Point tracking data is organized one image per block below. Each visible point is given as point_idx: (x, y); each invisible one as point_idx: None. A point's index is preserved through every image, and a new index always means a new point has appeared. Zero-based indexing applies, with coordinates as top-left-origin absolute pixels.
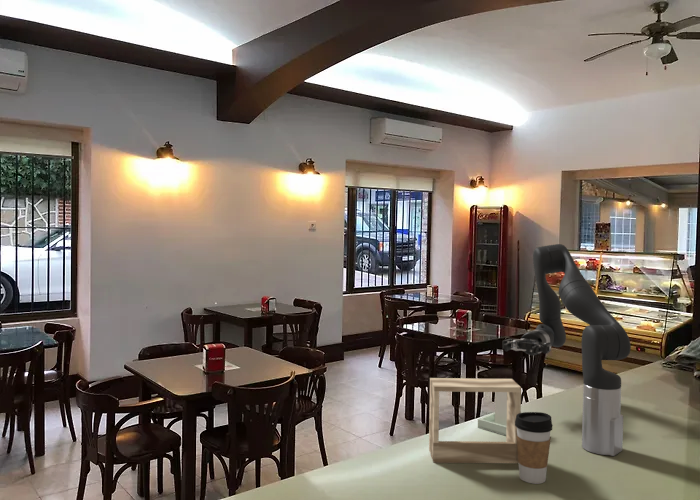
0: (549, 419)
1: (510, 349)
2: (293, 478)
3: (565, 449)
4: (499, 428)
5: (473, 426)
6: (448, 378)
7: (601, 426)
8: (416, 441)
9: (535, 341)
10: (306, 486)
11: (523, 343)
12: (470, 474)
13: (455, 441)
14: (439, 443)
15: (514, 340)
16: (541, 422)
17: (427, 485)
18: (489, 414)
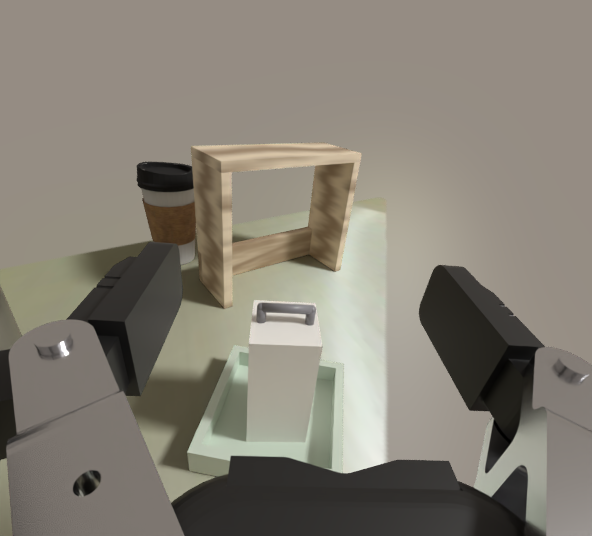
0: (141, 163)
1: (464, 398)
2: (385, 209)
3: None
4: None
5: (353, 383)
6: (335, 154)
7: None
8: (376, 282)
9: (82, 532)
10: (365, 206)
11: (388, 465)
12: None
13: (291, 233)
14: (306, 227)
15: (581, 425)
16: (154, 163)
17: (284, 223)
18: (342, 417)
